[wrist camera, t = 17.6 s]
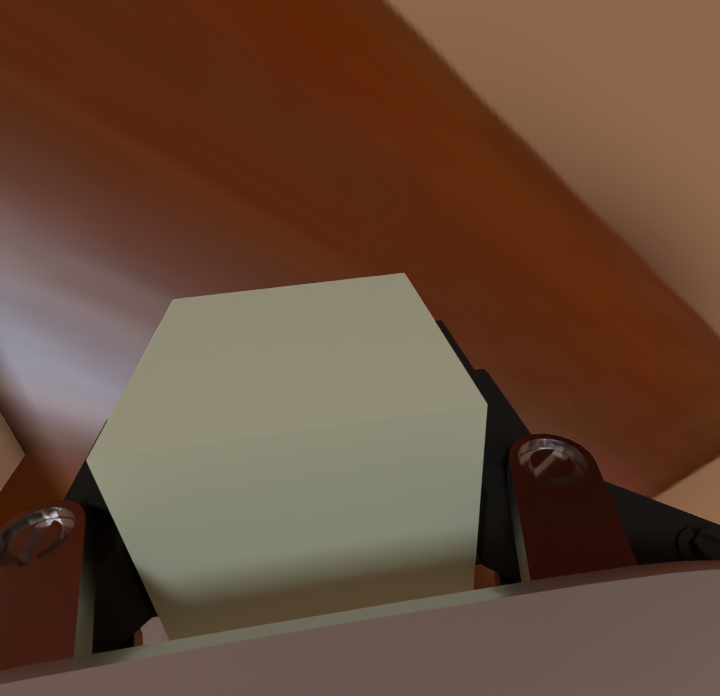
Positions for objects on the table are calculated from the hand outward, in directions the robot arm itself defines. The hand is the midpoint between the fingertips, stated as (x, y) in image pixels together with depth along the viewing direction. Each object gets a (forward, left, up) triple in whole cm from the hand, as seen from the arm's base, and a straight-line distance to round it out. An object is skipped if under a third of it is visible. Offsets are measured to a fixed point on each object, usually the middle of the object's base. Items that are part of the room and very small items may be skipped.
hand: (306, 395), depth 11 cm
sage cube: (0, 0, -1) cm, 1 cm away
